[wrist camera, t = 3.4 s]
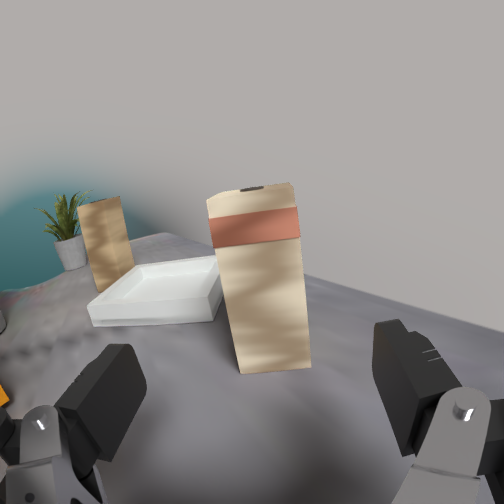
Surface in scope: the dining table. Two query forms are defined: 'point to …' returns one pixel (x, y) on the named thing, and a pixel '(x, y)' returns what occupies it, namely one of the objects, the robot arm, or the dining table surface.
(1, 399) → the bracket
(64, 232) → the house plant
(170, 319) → the tray
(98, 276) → the oak post
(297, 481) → the dining table surface
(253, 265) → the maple post
